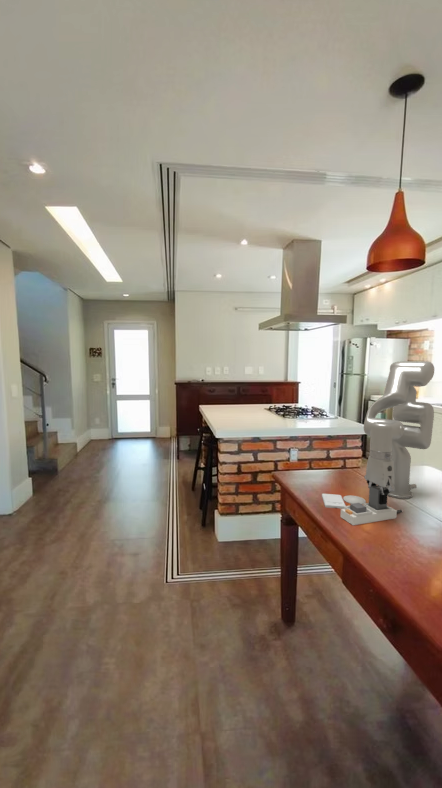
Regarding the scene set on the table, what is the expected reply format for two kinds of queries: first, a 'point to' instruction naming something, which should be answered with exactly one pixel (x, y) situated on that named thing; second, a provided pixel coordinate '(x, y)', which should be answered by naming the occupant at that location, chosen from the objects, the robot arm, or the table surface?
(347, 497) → the coaster
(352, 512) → the power strip
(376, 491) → the charger
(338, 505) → the external hard drive
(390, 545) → the table surface
